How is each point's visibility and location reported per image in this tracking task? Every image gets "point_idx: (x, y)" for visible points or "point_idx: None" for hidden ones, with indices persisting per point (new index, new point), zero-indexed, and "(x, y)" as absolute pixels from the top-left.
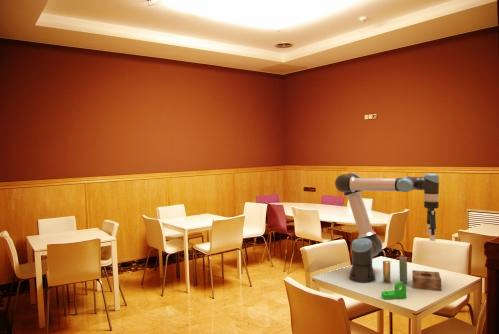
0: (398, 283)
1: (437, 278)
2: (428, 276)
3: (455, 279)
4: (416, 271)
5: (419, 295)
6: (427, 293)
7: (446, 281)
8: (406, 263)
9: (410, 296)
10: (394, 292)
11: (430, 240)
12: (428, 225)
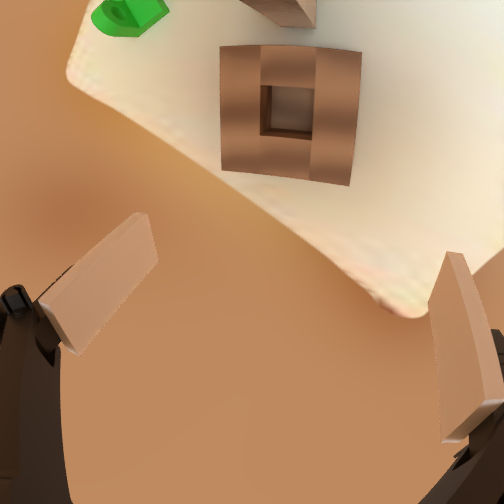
0: (92, 13)
1: (237, 157)
2: (259, 119)
3: (399, 247)
4: (341, 70)
5: (164, 74)
6: (193, 101)
7: (370, 205)
8: (248, 3)
9: (146, 47)
10: (121, 2)
11: (135, 218)
12: (471, 393)
